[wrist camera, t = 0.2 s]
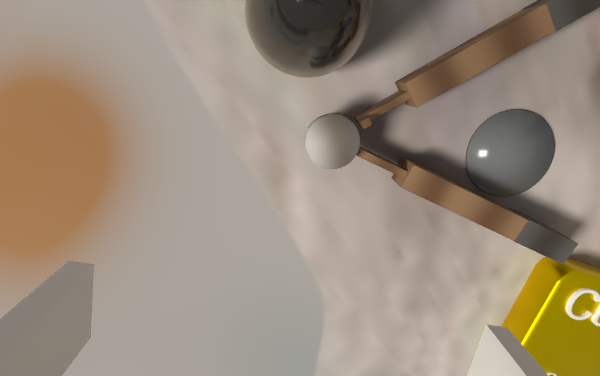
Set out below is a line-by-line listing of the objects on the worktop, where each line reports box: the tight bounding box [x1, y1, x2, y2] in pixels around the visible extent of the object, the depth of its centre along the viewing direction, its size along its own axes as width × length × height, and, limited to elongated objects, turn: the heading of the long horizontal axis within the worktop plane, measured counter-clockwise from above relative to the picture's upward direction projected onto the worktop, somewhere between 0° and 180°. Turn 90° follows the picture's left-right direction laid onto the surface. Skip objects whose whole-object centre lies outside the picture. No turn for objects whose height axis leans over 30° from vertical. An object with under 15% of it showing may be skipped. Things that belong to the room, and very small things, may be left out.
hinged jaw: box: [305, 0, 600, 169], centre depth 35 cm, size 29×5×5 cm, turn 119°
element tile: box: [501, 257, 600, 376], centre depth 44 cm, size 15×15×5 cm
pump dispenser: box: [245, 0, 373, 78], centre depth 29 cm, size 10×10×15 cm
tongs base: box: [356, 147, 578, 264], centre depth 39 cm, size 29×4×4 cm, turn 64°
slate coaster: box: [466, 110, 555, 196], centre depth 40 cm, size 9×9×1 cm
